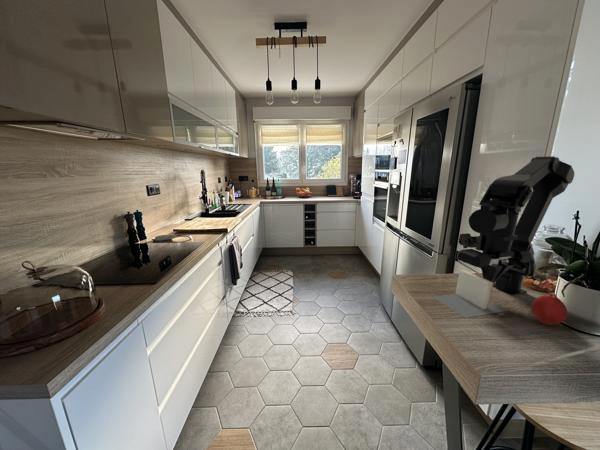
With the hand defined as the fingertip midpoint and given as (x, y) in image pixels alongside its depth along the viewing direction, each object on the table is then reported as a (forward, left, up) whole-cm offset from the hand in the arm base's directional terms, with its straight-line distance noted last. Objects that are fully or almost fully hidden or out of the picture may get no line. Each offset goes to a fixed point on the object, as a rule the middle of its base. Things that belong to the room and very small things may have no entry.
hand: (487, 286), depth 67 cm
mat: (+7, +1, -4) cm, 8 cm away
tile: (+5, 0, -4) cm, 6 cm away
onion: (-3, +12, -4) cm, 13 cm away
